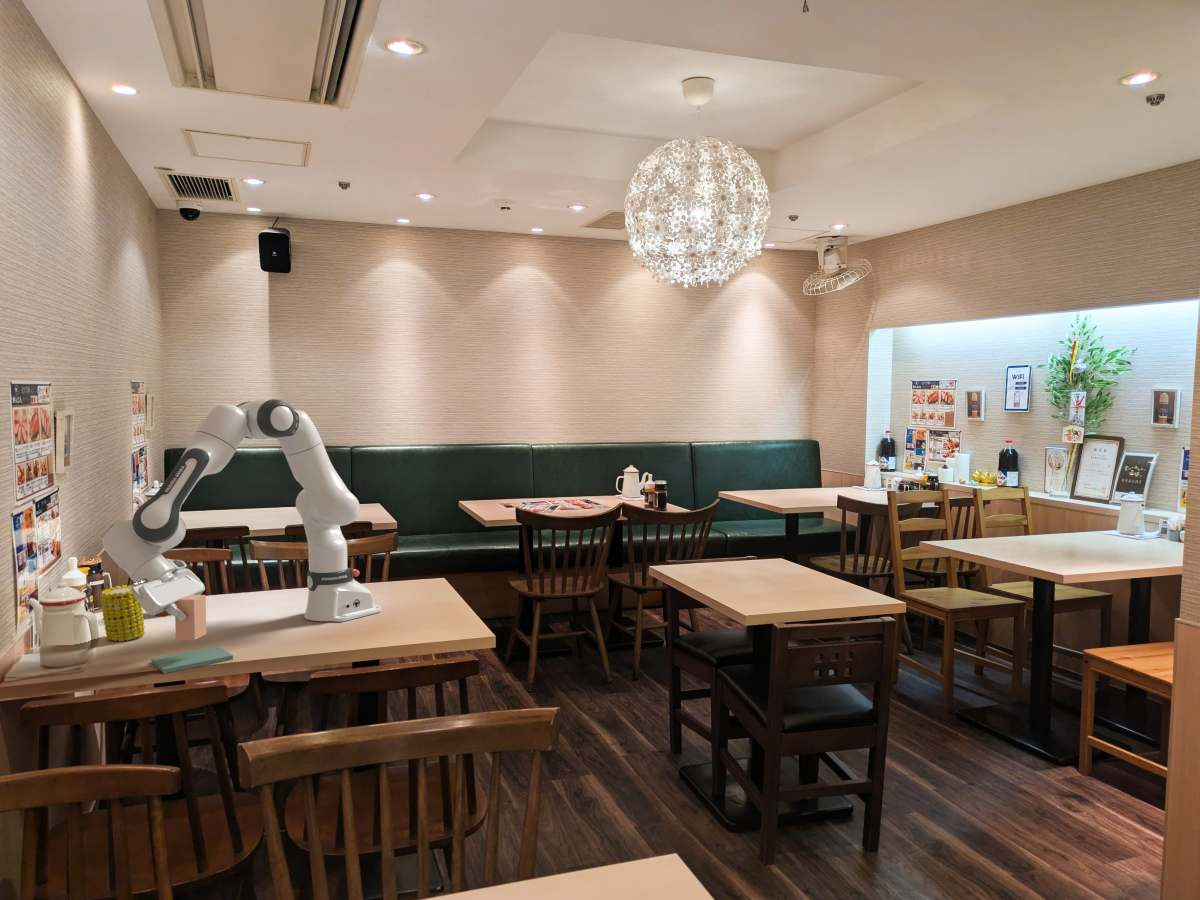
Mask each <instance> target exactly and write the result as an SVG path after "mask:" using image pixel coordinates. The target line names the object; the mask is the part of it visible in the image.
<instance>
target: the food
mask: <svg viewBox="0 0 1200 900" xmlns="http://www.w3.org/2000/svg"><path fill="white" fill-rule="evenodd" d="M131 587H132V584H130V585H127V584H122V585H116V586H114V587H113V586H111V587H109V588H106V589H104V590H101V593H100V594H99V596H100V599H99V600H100V604H101V609H102V611H101V612H102V616H103V618H102V621H104V622H103V625H104V630H105V635H106V639H107V640H108V641H114V642H117V641H118V642H120V643H123V642H125V641H127V642H128V641H131V640H136V639H137V638H141V637H143V636H144V635H145V629H146V628H145V625H144V623H145V621H144V620H145V619H144V614H143V613H144V612H143V611H144V609H143V608H142V606H141V605H140V604H139V602H138V601H137V600H136V598H135V594H134V593H133V592H132V590H131V589H132V588H131Z"/></svg>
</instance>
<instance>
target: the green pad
mask: <svg viewBox="0 0 1200 900" xmlns="http://www.w3.org/2000/svg"><path fill="white" fill-rule="evenodd" d="M150 659H151V661H150V663H151V664H153V665H154V667H156V668H158V670H159V671H161V673H162V674H168V673H172V672H173V673H174V672H178V671H182V670H187V669H192V668H196V667H197V668H198V667H203V666H206V665H213V664H217V663H222V662H226V661H232V660H234V655H233V654H231V653H230V652H229V651H228V650H225V649H224V648H223V647H221V646H220V645H216V646H209V647H204V648H199V649H195V650H187V651H182V652H178V653H173V654H168V655H167V654H166V655H162V656H158V657H157V656H156V657H151V658H150Z"/></svg>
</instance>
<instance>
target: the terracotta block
mask: <svg viewBox="0 0 1200 900" xmlns="http://www.w3.org/2000/svg"><path fill="white" fill-rule="evenodd" d="M206 598H207V595H206V594H201V595H188V596H185V597H183V598H180V599H178V601H177V602H175V604H176V605H177V608H178V609H180V610H181V611H185V612H186V613H187V614H188V615H189V616H188V618H187V619H186V620H184V621H180V620H179V619H178V618H177V617H175V616H174V618H175V619H174V622H175V640H191V641H195V640H197V639H199V638H201V637H203V636H205V635H207V607H206V605H207V604H206V600H207V599H206Z"/></svg>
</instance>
